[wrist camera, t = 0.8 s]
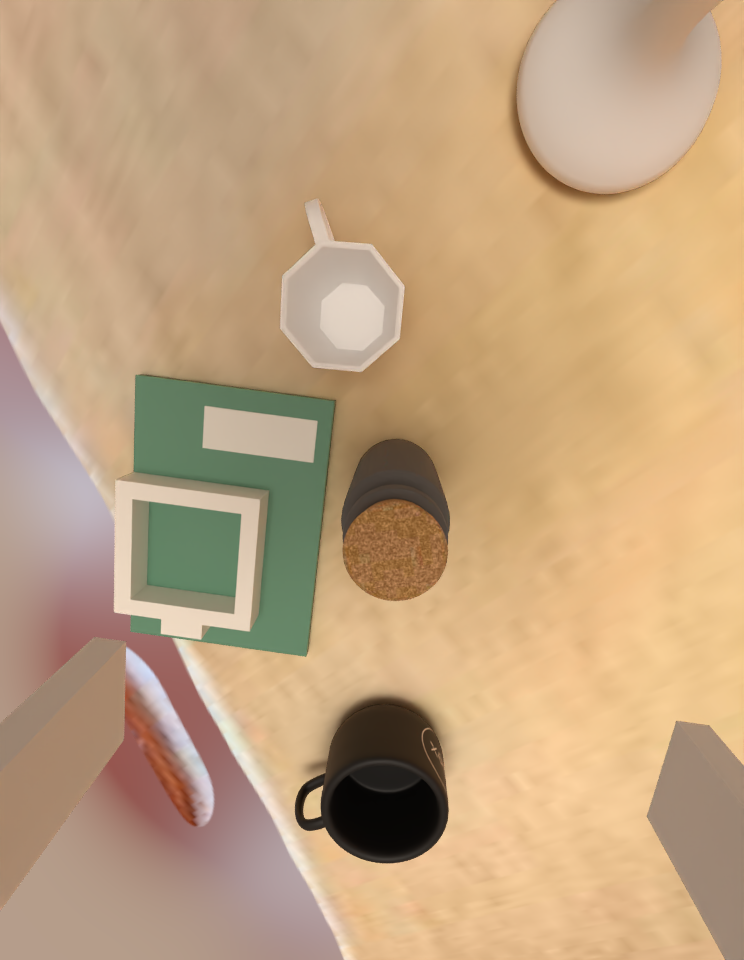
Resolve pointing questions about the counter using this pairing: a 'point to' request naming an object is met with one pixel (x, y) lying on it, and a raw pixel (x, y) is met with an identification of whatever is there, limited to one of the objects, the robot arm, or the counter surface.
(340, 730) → the mug
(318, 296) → the cup
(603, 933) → the counter surface
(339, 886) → the counter surface
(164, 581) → the board
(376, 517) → the bottle
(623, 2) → the flower in vase
